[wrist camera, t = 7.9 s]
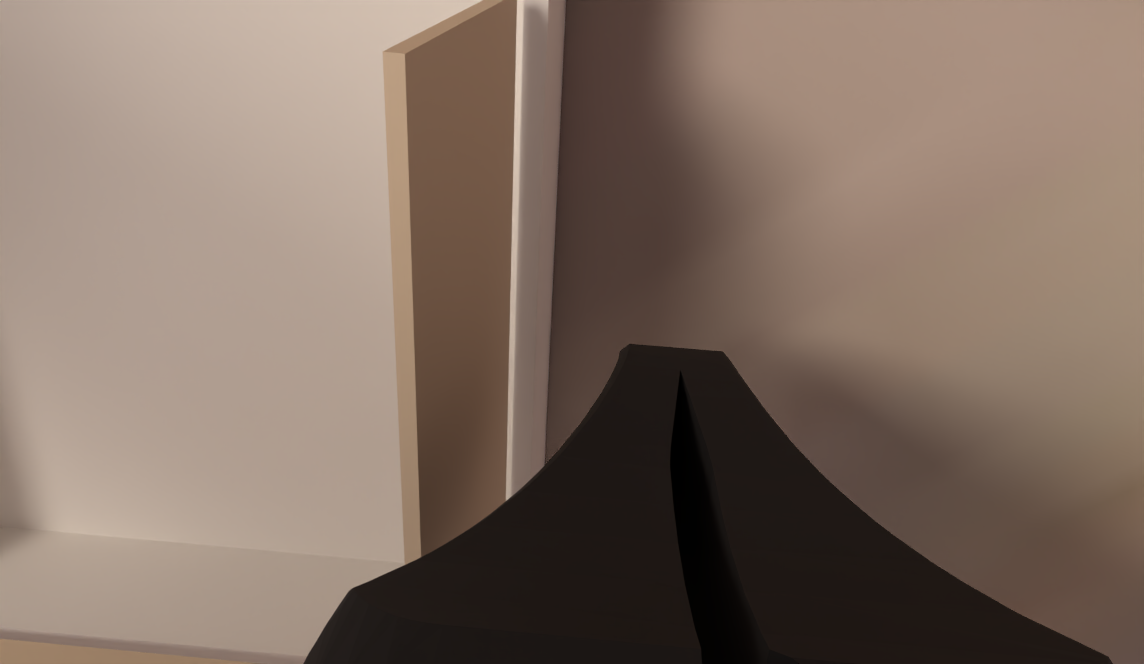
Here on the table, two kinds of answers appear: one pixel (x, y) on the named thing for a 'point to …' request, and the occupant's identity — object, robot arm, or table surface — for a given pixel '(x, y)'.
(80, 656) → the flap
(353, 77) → the carton
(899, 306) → the table surface
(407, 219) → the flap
